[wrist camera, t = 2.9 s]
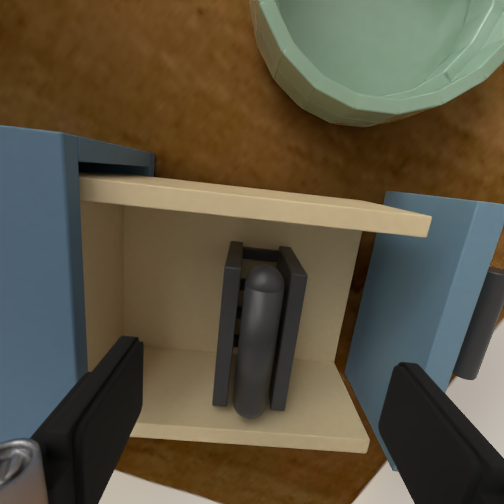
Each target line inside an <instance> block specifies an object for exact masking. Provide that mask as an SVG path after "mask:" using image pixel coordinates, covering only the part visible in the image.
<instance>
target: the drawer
mask: <svg viewBox="0 0 504 504" xmlns="http://www.w3.org/2000/svg"><path fill="white" fill-rule="evenodd" d="M79 191H80V212H81V233H82V254H83V274H84V295H85V316H86V336H87V357H88V372H92V371H93V369H94V368H95V367H96V366H97V365H98V363H99V362H100V361H101V360H102V358H103V357H104V356H105V355H106V354H107V352H108V351H109V350H110V349H111V347H112V346H113V345H114V344H115V343H116V341H117V340H118V339H119V338H120V337H121V336H132V337H138V338H139V341H141V342H143V344H144V355H143V404H142V409H141V413H140V415H139V417H138V419H137V422H136V424H135V426H134V428H133V430H132V432H131V434H130V437H142V438H156V439H170V440H185V441H199V442H213V443H227V444H241V445H255V446H269V447H284V448H298V449H312V450H326V451H340V452H354V453H367V449H368V446H369V442H370V439H369V437H368V435H367V432H366V430H365V428H364V426H363V424H362V422H361V419H360V417H359V415H358V413H357V411H356V409H355V407H354V404H353V402H352V400H351V398H350V396H349V394H348V391H347V389H346V387H345V385H344V383H343V381H342V378H341V376H340V374H339V372H338V370H337V368H336V366H335V363H334V360H335V355H336V350H337V346H338V341H339V337H340V332H341V327H342V323H343V318H344V313H345V309H346V304H347V300H348V295H349V290H350V286H351V281H352V276H353V272H354V267H355V263H356V258H357V253H358V249H359V244H360V240H361V235H362V231H368V232H377V233H376V237H375V242H374V246H373V250H372V255H371V259H370V263H369V268H368V272H367V276H366V281H365V285H364V290H363V294H362V298H361V303H360V307H359V311H358V316H357V320H356V324H355V329H354V333H353V337H352V342H351V346H350V350H349V355H348V359H347V363H346V368H345V374H346V377H347V379H348V381H349V383H350V385H351V387H352V389H353V391H354V393H355V395H356V397H357V399H358V401H359V403H360V405H361V407H362V409H363V411H364V413H365V415H366V417H367V419H368V421H369V423H370V425H371V427H372V429H373V431H374V433H375V435H376V437H377V440H378V442H379V444H380V446H381V448H382V450H383V452H384V454H385V456H386V458H387V460H388V462H389V464H390V466H391V468H392V470H393V471H398V469H397V467H396V465H395V463H394V461H393V459H392V457H391V456H390V454H389V452H388V450H387V448H386V446H385V444H384V442H383V440H382V438H381V436H380V433H379V429H378V423H379V419H380V415H381V412H382V408H383V404H384V401H385V397H386V393H387V390H388V386H389V382H390V379H391V375H392V371H393V368H394V366H396V365H398V364H399V363H400V362H409V363H417V364H418V365H420V366H421V368H422V369H423V370H424V371H425V372H426V373H427V374H428V375H429V376H430V378H431V379H432V380H433V381H434V382H435V383H436V384H437V385H438V386H439V388H440V389H441V390H442V391H443V392H444V393H445V392H446V389H447V386H448V384H449V381H450V378H451V375H452V373H453V374H454V375H456V376H458V377H460V378H463V379H467V380H474V379H475V378H476V376H477V374H478V371H479V369H480V366H481V363H482V360H483V358H484V355H485V352H486V350H487V347H488V345H489V342H490V339H491V337H492V334H493V331H494V329H495V326H496V323H497V321H498V318H499V315H500V313H501V310H502V307H503V305H504V270H503V269H499V268H495V267H489V266H490V263H491V260H492V257H493V254H494V251H495V248H496V245H497V243H498V240H499V237H500V234H501V231H502V228H503V225H504V204H498V203H490V202H481V201H473V200H464V199H456V198H447V197H439V196H430V195H421V194H413V193H404V192H396V191H386V194H385V198H384V203H383V205H380V204H376V203H371V202H367V201H362V200H353V199H344V198H336V197H327V196H318V195H309V194H300V193H291V192H282V191H273V190H265V189H256V188H247V187H238V186H229V185H220V184H211V183H202V182H194V181H185V180H176V179H167V178H158V177H149V176H140V175H131V174H123V173H99V172H79ZM231 241H238V242H243V246H244V247H254V248H263V249H273V250H279V246H285V247H291V248H292V250H293V252H294V253H295V255H296V257H297V258H298V260H299V262H300V263H301V265H302V267H303V268H304V270H305V272H306V273H307V275H308V278H307V284H306V290H305V296H304V301H303V307H302V313H301V319H300V325H299V330H298V336H297V342H296V348H295V354H294V359H293V365H292V371H291V377H290V383H289V388H288V394H287V400H286V406H285V410H284V411H274V410H271V409H270V403H269V394H268V400H267V405H266V408H265V410H264V412H263V413H262V414H261V415H260V416H258V417H256V418H254V419H246V418H243V417H241V416H240V415H239V414H238V413H237V412H236V410H235V409H234V406H233V401H232V397H233V388H234V379H235V370H236V361H237V352H238V347H233V355H232V364H231V374H230V383H229V393H228V402H227V406H226V407H220V406H212V398H213V387H214V376H215V365H216V354H217V343H218V331H219V320H220V309H221V298H222V287H223V275H224V266H225V262H226V258H227V254H228V250H229V246H230V242H231ZM276 264H277V262H271V261H261V260H252V259H242V271H241V278H245V279H246V278H247V276H248V274H249V273H250V271H251V270H252V269H254V268H256V267H257V266H261V265H269V266H272V267H274V268H276ZM243 298H244V291H242V290H239V299H238V306H240V307H243ZM240 325H241V319H236V327H235V334H237V335H239V334H240Z"/></svg>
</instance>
